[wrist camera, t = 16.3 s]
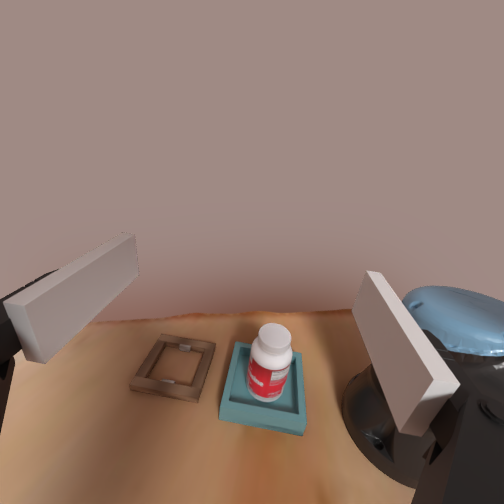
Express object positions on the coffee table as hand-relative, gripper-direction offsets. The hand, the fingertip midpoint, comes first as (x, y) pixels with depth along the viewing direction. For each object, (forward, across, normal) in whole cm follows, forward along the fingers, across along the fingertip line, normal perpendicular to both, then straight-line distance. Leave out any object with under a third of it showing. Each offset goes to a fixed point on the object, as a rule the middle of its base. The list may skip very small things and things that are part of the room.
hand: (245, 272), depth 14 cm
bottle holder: (+16, -11, -30) cm, 36 cm away
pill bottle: (+15, +4, -29) cm, 33 cm away
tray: (+15, +4, -30) cm, 34 cm away
